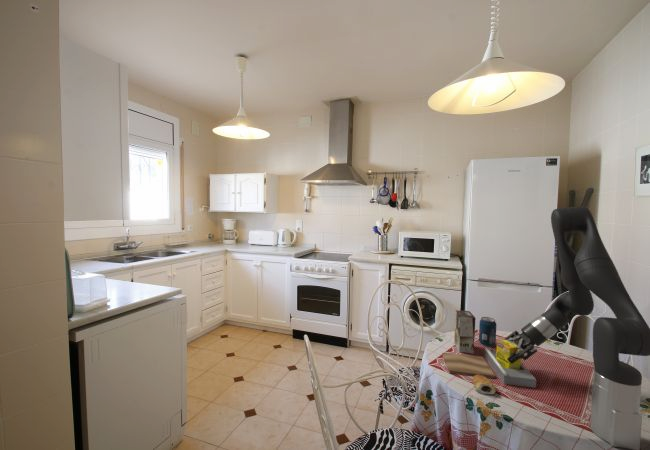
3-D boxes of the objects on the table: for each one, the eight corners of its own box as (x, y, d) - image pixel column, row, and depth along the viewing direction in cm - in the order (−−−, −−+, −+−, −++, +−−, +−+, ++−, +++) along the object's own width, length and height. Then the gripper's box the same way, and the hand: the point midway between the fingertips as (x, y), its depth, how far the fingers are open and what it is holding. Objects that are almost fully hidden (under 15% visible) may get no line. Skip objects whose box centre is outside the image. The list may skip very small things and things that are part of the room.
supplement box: (495, 367, 115) (496, 341, 114) (506, 365, 116) (507, 339, 116) (508, 375, 109) (510, 347, 108) (520, 373, 111) (521, 346, 110)
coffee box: (474, 353, 125) (476, 317, 125) (458, 352, 127) (460, 316, 126) (468, 344, 134) (469, 310, 134) (453, 342, 136) (455, 309, 135)
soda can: (482, 339, 140) (483, 315, 139) (497, 344, 135) (499, 319, 134) (476, 343, 136) (477, 318, 135) (492, 349, 130) (493, 323, 130)
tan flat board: (495, 378, 107) (495, 375, 107) (449, 372, 110) (449, 370, 110) (482, 359, 121) (482, 357, 121) (442, 355, 124) (442, 352, 124)
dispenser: (535, 387, 102) (536, 376, 102) (503, 383, 104) (503, 372, 104) (511, 359, 121) (511, 349, 121) (484, 356, 123) (484, 346, 123)
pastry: (469, 378, 107) (469, 368, 107) (489, 381, 106) (489, 371, 106) (476, 393, 98) (476, 382, 98) (497, 397, 97) (498, 386, 96)
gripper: (522, 316, 117) (490, 340, 120) (541, 330, 103) (504, 357, 106) (536, 330, 116) (504, 354, 119) (557, 346, 102) (520, 373, 105)
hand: (504, 356), depth 113 cm, fingers closed on supplement box, 8 cm apart
